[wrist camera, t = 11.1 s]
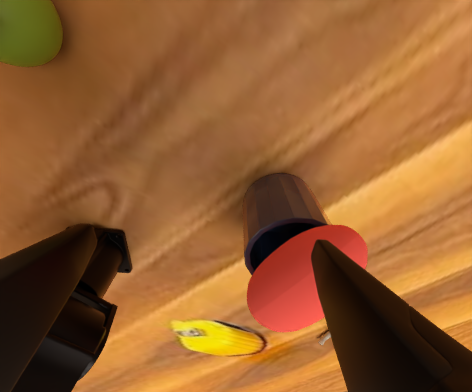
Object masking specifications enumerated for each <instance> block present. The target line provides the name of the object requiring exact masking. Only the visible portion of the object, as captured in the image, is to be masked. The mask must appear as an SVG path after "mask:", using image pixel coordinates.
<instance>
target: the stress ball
mask: <svg viewBox="0 0 472 392" xmlns="http://www.w3.org/2000/svg"><path fill="white" fill-rule="evenodd" d="M317 239H323V240H328V241H329V242H331V243H332V244H333V245H334V246H336V247H337V248H338V249H339V250H341V251H342V252H343V253H344V254H346V255H347V256H348V257H349V258H351V259H352V260H353V261H354V262H356V263H357V264H358V265H360V266H361V267H362V268H363V269H365V268H366V265H367V246H366V243H365V242H364V240H363V238H362V237H361V236H360V235H359V234H358V233H357V232H356V231H354V230H353V229H351V228H349V227H347V226H343V225H325V226H320V227H315V228H312V229H310V230H307V231H304V232H302V233H300V234H298V235H296V236H295V237H293V238H291V239H290V240H288V241H287V242H285V243H284V244H283V245H281V246H280V247H279V248H277V249H276V250H275V251H274V252H273V253H271V254H270V255H269V256H268V257H267V258H266V259H265V260H264V261H263V262H262V263H261V264H260V265H259V266H258V267H257V269H256V270H255V272H254V273H253V275H252V277H251V279H250V281H249V284H248V290H247V303H248V307H249V310H250V312H251V314H252V316H253V317H254V318H255V320H256V321H257V322H258V323H260V324H261V325H262V326H264V327H266V328H268V329H271V330H273V331H276V332H291V331H297V330H300V329H302V328H305V327H307V326H310V325H312V324H314V323H315V322H317V321H319V320H320V319H322V318H324V317H325V316H324V313H323V309H322V306H321V303H320V300H319V296H318V292H317V288H316V282H315V277H314V272H313V267H312V262H311V253H312V250H313V247H314V244H315V241H316V240H317Z"/></svg>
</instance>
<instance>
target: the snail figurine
mask: <svg viewBox="0 0 472 392" xmlns="http://www.w3.org/2000/svg"><path fill="white" fill-rule="evenodd" d="M62 41H63V30H62V24H61V21H60V18H59V15H58V13H57V10H56V8H55V7H54V5H53V3H52V2H51V0H0V62H3V63H6V64H10V65H14V66H21V67H34V66H40V65H43V64H45V63H47V62H49V61H51V60H52V59H53V58H54V57H55V56H56V55H57V54H58V52H59V50H60V48H61V45H62Z"/></svg>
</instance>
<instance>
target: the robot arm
mask: <svg viewBox="0 0 472 392" xmlns="http://www.w3.org/2000/svg"><path fill="white" fill-rule="evenodd" d="M118 234H119V235H118ZM120 235H121V236H120ZM311 262H312V267H313V272H314V277H315V282H316V288H317V292H318V296H319V300H320V303H321V306H322V309H323V313H324V316H325V319H326V322H327V325H328V329H329V332H330V335H331V338H332V341H333V345H334V348H335V351H336V354H337V357H338V361H339V364H340V367H341V370H342V374H343V377H344V380H345V383H346V386H347V390H348V392H472V352H471V351H470V350H469V349H467V348H466V347H464V346H463V345H462V344H460V343H459V342H457V341H456V340H455V339H453V338H452V337H451V336H449V335H448V334H446V333H445V332H444V331H442V330H441V329H440V328H438V327H437V326H436V325H434V324H433V323H432V322H431V321H429V320H428V319H427V318H425V317H424V316H423V315H421V314H420V313H419V312H418V311H416V310H415V309H414V308H413V307H411V306H409V304H407V303H406V302H405V301H404V300H402V299H401V298H400V297H399V296H397V295H396V294H395V293H394V292H392V291H391V290H390V289H389V288H387V287H386V286H385V285H384V284H382V283H381V282H380V281H378V280H377V279H376V278H375V277H373V276H372V275H371V274H370V273H368V272H367V271H366V270H365V269H363V268H362V267H361V266H360V265H358V264H357V263H356V262H354V261H353V260H352V259H351V258H349V257H348V256H347V255H346V254H344V253H343V252H342V251H341V250H339V249H338V248H337V247H336V246H334V245H333V244H332V243H331V242H329V241H328V240H323V239H317V240H316V241H315V244H314V247H313V250H312V253H311ZM131 270H132V265H131V260H130V256H129V251H128V247H127V242H126V238H125V234H124V232H123V231H120V230H105V229H94V228H93V226H92V225H90V224H78V225H76V226H73V227H68V228H67V229H66V230H64V231H62V232H60V233H58V234H56V235H53V236H51V237H49V238H47V239H44V240H42V241H40V242H38V243H36V244H33V245H31V246H29V247H27V248H24V249H22V250H20V251H18V252H16V253H13V254H11V255H9V256H7V257H5V258H2V259H0V392H71V391H72V389H73V388H74V386H75V384H76V383H77V381H78V380H80V379H81V378H82V377H83V376H84V375H86V373H87V372H88V371H89V370H90V369H91V367H92V366H93V365H94V363H95V362H96V360H97V359H98V357H99V355H100V354H101V352H102V350H103V348H104V346H105V343H106V341H107V338H108V335H109V332H110V328H111V325H112V322H113V319H114V316H115V313H116V310H117V307H118V306H116V305H114V304H111V303H109V302H107V301H105V300H103V299H102V298H103V296H104V294H105V293H106V291H107V289H108V288H109V286H110V284H111V282H112V281H113V279H114V277H115V276H116V274H117V272H120V273H130V272H131Z"/></svg>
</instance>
